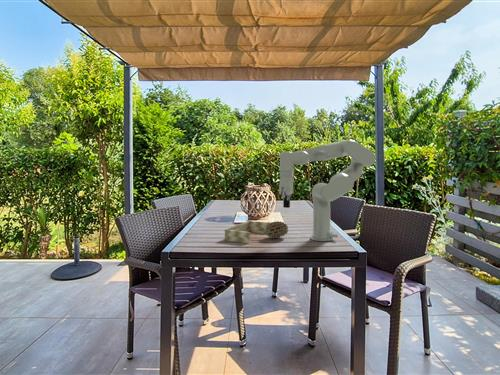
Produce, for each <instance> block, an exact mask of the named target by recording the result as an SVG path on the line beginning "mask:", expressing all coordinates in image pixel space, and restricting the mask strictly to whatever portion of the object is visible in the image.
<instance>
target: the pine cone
mask: <svg viewBox="0 0 500 375" xmlns="http://www.w3.org/2000/svg"><path fill="white" fill-rule="evenodd" d="M251 232H252V233H257V234H261V235H265V236H267V237H268V238H269V239H270V240H271V239H275V238H276V239H278V238H281V237H284V236H286V235H287V234H288V232H289V227H288V224H287V223H285V222H282V221H279V220H278V221H273V222H272V223H271V224H268V226H267V227H266V231H265V232H261V231H256V230H254V229H251Z"/></svg>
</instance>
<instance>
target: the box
mask: <svg viewBox="0 0 500 375" xmlns="http://www.w3.org/2000/svg"><path fill="white" fill-rule="evenodd" d="M268 224H272V223H271V222H265V221H255V220H246V221H245V222H241V223H239V224H236V225H234V226H231V227H229V228H226V229H224V241H229V242H235V243H243V244H251V232H252V231H251V229H254V230H256V231H261V232H265V231H266V227H267V226H268ZM250 231H251V232H250Z"/></svg>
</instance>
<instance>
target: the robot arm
mask: <svg viewBox="0 0 500 375" xmlns="http://www.w3.org/2000/svg"><path fill="white" fill-rule="evenodd" d="M345 156H347V157H348V156H350V157H351V158H350V164H349V166H348V167H347V168H345V169H344V170H342V171H340V172H338V173H335V174H334V175H332V176H331V177H330V179H329V182H328V183H326V182H318V183H316V184H314V185H313V187H312V190H311V197H312V234H311V235H310V236H309V239H310V240H312V241H317V242H330V241H332V240H334V238H338V237H339V234H338V233H336V232H334V233H333V232H332V230H331V202H333V201H335V200H337V199H339V198H341V197H342V196H345V195H346V194H348V193H349V192H351V190H352V189H353V188H354V185H355V181H357V180H358V179H360V178H361V176H362V174H363V172H364V167H371V166H373V165H374V164H375V162H376V155H375V153H374V152H373V151H372V150H371V149H369V148H367V147H366V146H364V145H363V144H362V143H359V142H358V141H355V140H353V139H345V140H340V141H336V142H331V143H330V142H329V143H326V144H321V145H318V146H313V147H310V148H306V149H305V148H304V149H301V150H297V151H281V152H280V153H279V177H280V178H279V185H278V186H279V188H278V194H279V195H280V196H281V197H282V201H283V203H282V204H283V208H286V209H287V208H288V209H289V208H290V206H291V196H292V194H293V193H294V178H295V176H294V173H295V165H298V166H299V165H300V166H303V165H306V164H308V163H311V162H317V161H320V162H321V161H322V162H323V161H328V160H332V159H333V160H334V159H337V158H341V157H345Z"/></svg>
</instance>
